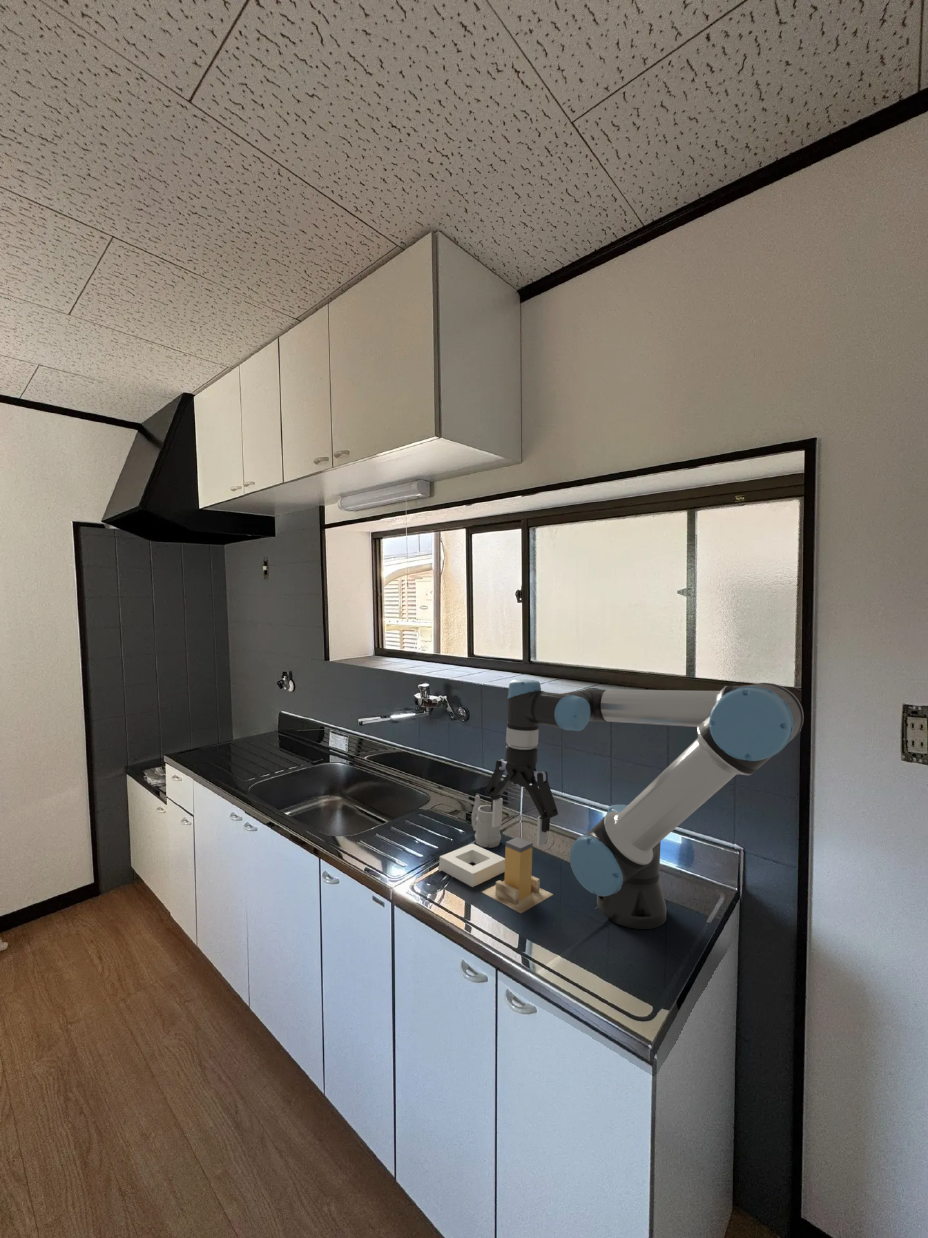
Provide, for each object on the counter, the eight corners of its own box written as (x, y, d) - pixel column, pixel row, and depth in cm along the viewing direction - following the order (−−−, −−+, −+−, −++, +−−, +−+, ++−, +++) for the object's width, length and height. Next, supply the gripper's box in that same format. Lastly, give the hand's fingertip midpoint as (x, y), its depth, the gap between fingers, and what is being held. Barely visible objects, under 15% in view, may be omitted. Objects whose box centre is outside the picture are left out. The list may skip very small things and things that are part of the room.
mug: (484, 850, 149) (486, 808, 149) (461, 835, 159) (463, 795, 159) (506, 844, 153) (507, 803, 153) (482, 830, 163) (483, 791, 163)
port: (505, 874, 135) (505, 858, 135) (472, 890, 127) (472, 873, 127) (471, 858, 144) (472, 843, 144) (439, 872, 136) (439, 856, 136)
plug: (530, 893, 125) (532, 843, 125) (518, 900, 122) (520, 848, 122) (516, 886, 128) (517, 837, 128) (504, 892, 125) (505, 842, 125)
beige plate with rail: (553, 898, 125) (553, 881, 125) (520, 917, 116) (521, 899, 116) (514, 878, 133) (514, 863, 133) (481, 895, 125) (482, 879, 125)
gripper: (575, 754, 118) (571, 848, 119) (493, 733, 136) (490, 815, 136) (556, 760, 113) (552, 858, 113) (473, 737, 131) (469, 822, 131)
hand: (518, 835), depth 125 cm, fingers open, 13 cm apart
